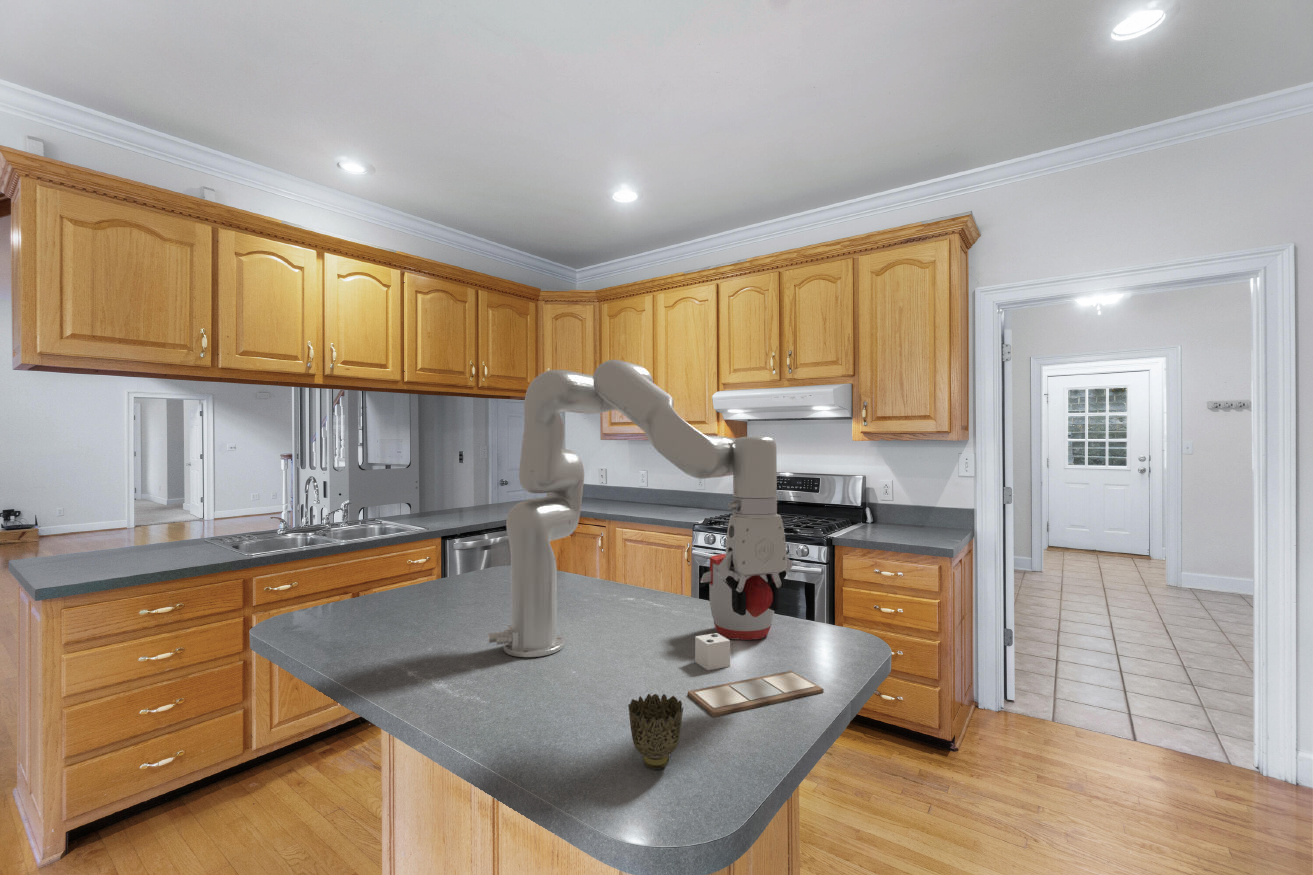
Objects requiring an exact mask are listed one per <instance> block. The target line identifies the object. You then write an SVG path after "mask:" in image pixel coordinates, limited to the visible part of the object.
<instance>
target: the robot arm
mask: <svg viewBox="0 0 1313 875" xmlns="http://www.w3.org/2000/svg"><path fill="white" fill-rule="evenodd" d="M525 392H526V393H525V396H524V404H523V405H524V410H523V411H524V412H523V413H524V417H523V418H524V420H523V422H524V427H523V435H522V442H521V452H520V459H519V460H520V461H519V468H518V470H519V471H518V478H519V479H518V480H519V483H520V484H519V485H520V486H521V488H522V489H523V490H524V491H526V492H528V493H531V494H546V496H545V497H540V498H532V499H531V498H530V499H526V500H522V501H520V502H518V503H516V504H515V505H514V506H513V507H512V508H511V509H510V510H509V512H508V514H507V517H506V524H505V525H506V532H507V533H506V534H507V538H508V544H509V550H510V577H511V578H510V581H511V582H510V585H511V586H510V587H511V588H510V591H511V592H510V596H511V597H510V601H511V602H510V611H511V612H510V625H507V629H504V630H503V631H501V632H500V631H499V632H497V631H496V632H489V633H488V634H487V642H488V644H491V643H493V644H494V643H495V644H496V645H503V651H504V653H506V654H507V655H509V656H513V657H517V658H538V657H544V656H549V655H552V654H555V653H557V652H559V651H561V650H562V649H563V648H564V646H565V641H564V638H563V637H562V636H561V635H558V634H557V631H558V630H557V628H558V627H557V623H558V622H557V619H558V617H557V611H558V610H557V602H558V601H557V596H558V595H557V594H558V593H557V588H558V586H557V584H558V583H557V581H558V580H557V576H558V575H557V559H556V555H555V553H554V550H553V548H552V545H551V542H552V541H556V540H560V539H564V538H566V537H568V536H571V535H572V534H573V533H574V532H575V530H576V529H577V528H578V525H579V521H580V517H581V510H582V508H581V507H582V500H583V491H584V485H585V484H584V482H585V468H584V465H583V462H582V460H581V458H580V457H579V455H578V454H577V453H575V452H574V451H572V450H571V449H565V448H564V447H563V445H564V438H565V427H564V423H563V420H562V417H561V413H564V412H567V413H568V412H569V413H576V414H577V413H578V414H585V415H587V414H588V415H591V414H592V415H593V414H600V413H606V412H611V411H615V410H617V411H618V412H619V413H621V414H622V415H623V416H624V417H626V418H627V420H629V421H630V422H632V423H633V424H635V425H636V426H637V427H638V428H639V429H640V430H642V431H643V432H644V434H645V438H647V439H648V441H649V442H650V444H651V445H652V446H653V448H654V450H656V451H657V452H658V453H659V454H660V455H661V456H662V457H664V458H665V459H666V460H667V461H669V463H670V464H672V465H674V466H675V467H676V468H677V469H679V470H680V471H681V472H683V473H685V474H686V475H688V476H690V477H692V478H694V479H695V478H696V479H702V480H704V479H714V478H722V477H728V476H729V477H730V476H732V478H733V479H732V485H733V486H732V488H733V490H732V496H733V497H732V501H728V502H727V509H728V510H731V511H732V514H731V515H730V518H729V521H728V525H727V526H728V527H727V531H726V532H727V533H726V544H725V554H726V556H725V558H724V559H723V560H722V562H721V563H720V564H719V566H718V567H717V568H716V570H715V572H716V573H717V574H718V575H719V576H720V577H721V578H722V579H723V581H724V582H725V583H726V584H727V585H728V586H729V588H730V589H732V608H733V611H734V612H735V613H737V614H739V615H742V616H743V615H745V614H746V593H745V592H744V591H743V588H744V584H745V581H746V578H747V576H755V575H765V578H766V581H767V583H768V584H769V586H770V587H771V590H772V593H773V601H772V604H771V606H770V607H769V609H771V610H773V611H774V612H775V611H776V612H777V611H778V610H779V605H778V604H779V588H781V586H782V582H783V581H784V579H785V578H786V577H787V574H788V573H789V572H790V571H791V569H792V568H793V564H794V563H793V562H792V561H791V560H790V558H789V557H788V556H787V545H786V534H785V529H784V523H783V519H782V518H783V517H782V515H781V514H778V513H777V512H778V505H777V504H778V497H777V496H778V495H777V494H778V493H777V491H778V490H777V489H778V488H777V481H778V480H777V479H778V476H777V474H778V473H777V472H778V471H777V470H778V469H777V466H778V465H777V461H778V460H777V458H778V457H777V455H778V454H777V450H778V449H777V443H776V441H775V439H773V438H772V437H768V436H741V437H738V438H736V437H729V436H720V435H705V434H703V433H702V432H701V431H699V430H698V429H696V428H695V427H694V426H692V425H691V424H689V423H688V422H687V421H686V420H685V419H683V418H682V417H681V416H680V415H679V414H678V413H677V412H676V410H675V409H674V405H675V404H674V398H673V397H672V395H671V394H669V393H668V392H667V391H665V390H664V389H662V388H661V387H659V385H657V384H656V383H654V379H653V377H652V375H651V373H650V372H649V370H647V369H646V368H645V367H643V366H641V365H640V364H635V363H632V362H628V361H623V360H621V359H609V360H607V361H603V362H602V363H600V364H599V365H598V366H597V368H596V369H595V370H594V373H593V374H592V375H591V374H587V373H582V372H578V371H572V370H566V369H551V370H547V371H544V372H542V373H540V374H539V375H537V376H535V378H534V379H533V380H532V381H531V382H530V384H529V385H528V387H527V390H526V391H525ZM728 570H729V571H732V572H733V573H732V576H730V575H729V573H728Z"/></svg>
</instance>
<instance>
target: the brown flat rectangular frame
mask: <svg viewBox="0 0 1313 875" xmlns="http://www.w3.org/2000/svg"><path fill="white" fill-rule="evenodd" d="M824 689H825V688H823V687H822V686H819V684H818V685H817V684H815V683H814V682H812V681H810V680H809V679H807V678H806V677H804V676H802V675H800V674H799V673H797V672H794V671H793V670H787V671H783V672H778V673H777V672H776V673H773V674H766V675H763V676H756V677H752V678H748V679H741V680H738V681H733V682H727V683H722V684H717V685H713V686H707V687H702V688H698V689H697V688H696V689H692V690H687V695H688V696H689V697H690V698H691V699H693V701H695V702H696V704H698V705H699V706H700V707H702V708H703V709H704V710H706V711H707V712H708V713H709V714H710V715H711V716H712V717H719V716H724V715H727V714H733V713H737V712H742V711H746V710H750V709H755V708H759V707H764V706H768V705H772V704H778V703H782V702H785V701H790V700H795V699H799V698H800V699H801V698H803V697H809V696H811V695H817V693H818V694H822V693H824ZM821 692H822V693H821Z"/></svg>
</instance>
